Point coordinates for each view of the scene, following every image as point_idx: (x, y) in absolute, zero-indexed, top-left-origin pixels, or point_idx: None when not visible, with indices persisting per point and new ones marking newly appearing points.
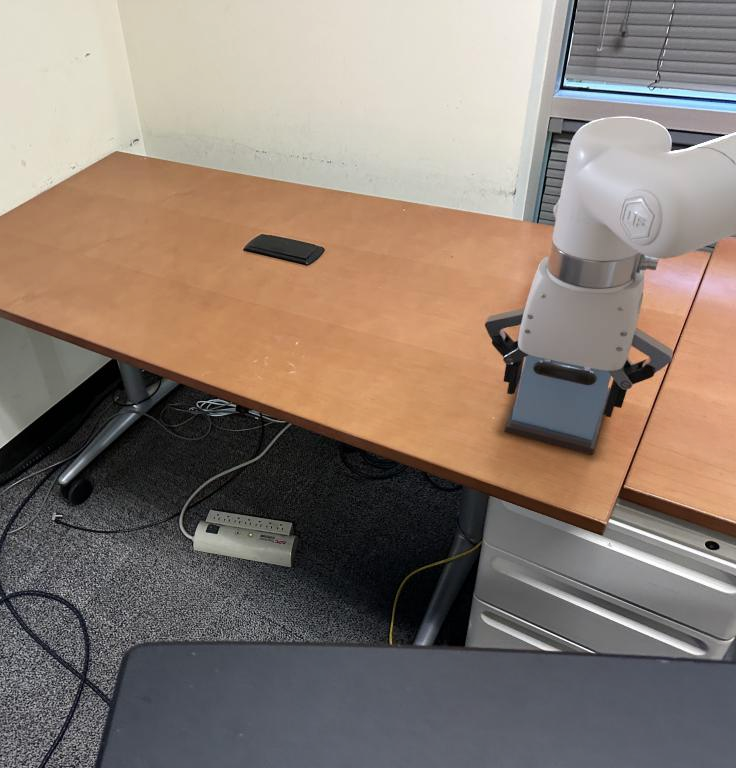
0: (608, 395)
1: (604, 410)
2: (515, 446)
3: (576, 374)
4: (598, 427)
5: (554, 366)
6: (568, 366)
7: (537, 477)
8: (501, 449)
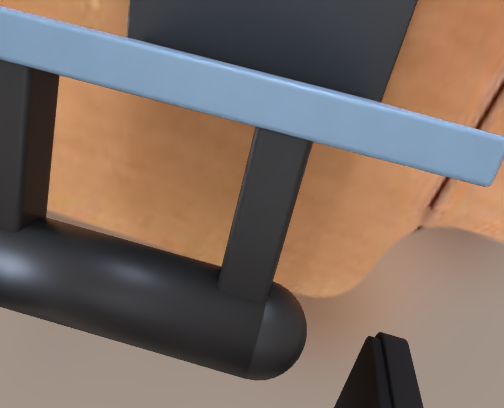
0: (369, 358)
1: (337, 402)
2: (169, 121)
3: (173, 357)
4: (405, 23)
5: (31, 313)
6: (115, 305)
7: (226, 219)
8: (137, 137)
